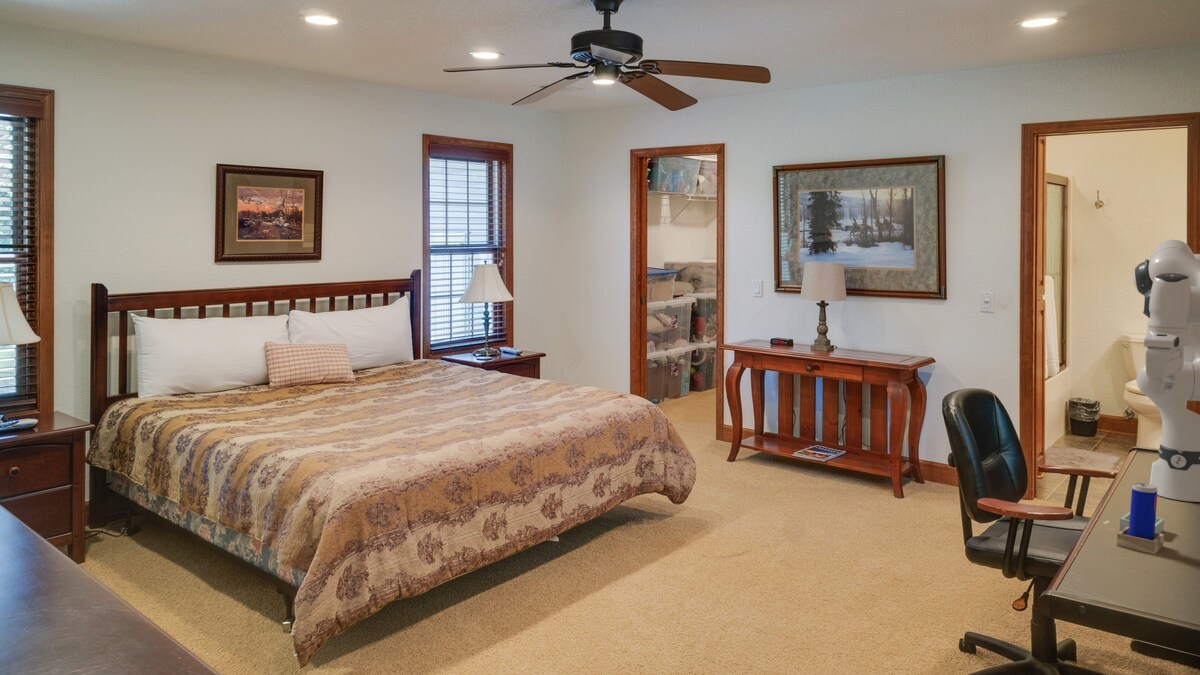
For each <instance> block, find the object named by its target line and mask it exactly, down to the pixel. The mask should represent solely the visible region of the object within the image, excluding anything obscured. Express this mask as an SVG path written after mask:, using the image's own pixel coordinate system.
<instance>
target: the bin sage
mask: <svg viewBox="0 0 1200 675" xmlns="http://www.w3.org/2000/svg"><path fill="white" fill-rule="evenodd" d="M1129 524H1130V511H1129V512H1127V513H1126V514H1124V515H1123V516H1122V517H1120V518H1119V529H1118V530H1119V531H1122V530H1123V529H1124V528H1126V527H1127V526H1129ZM1164 528H1165V519H1164V518H1160V517H1156V519H1155V532H1157V533H1161V534H1162V532H1164Z"/></svg>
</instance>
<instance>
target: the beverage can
mask: <svg viewBox="0 0 1200 675" xmlns="http://www.w3.org/2000/svg"><path fill="white" fill-rule="evenodd" d="M1157 492H1158V491H1157V487H1156V486H1154V485H1151V484H1149V483H1144V482H1136V483H1133V485H1132V487H1131V497H1130V498H1131V499H1130V510H1129V512H1130V524H1129V535H1130V536H1134V537H1139V538H1143V539H1148V540H1152V541H1153V540H1154V533H1155V519H1156V518H1157V503H1158V495H1157Z"/></svg>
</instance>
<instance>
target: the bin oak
mask: <svg viewBox="0 0 1200 675" xmlns="http://www.w3.org/2000/svg"><path fill="white" fill-rule="evenodd" d="M1116 536H1117V538H1116V546H1117V547H1121V548H1125V549H1131V550H1134V551H1139V552H1144V553H1148V554H1152V555H1155V554H1156V553H1158V551H1159V550H1161V548H1163V547H1164V542H1165V541H1164V540H1165V538H1164V537H1165V533H1162V532H1161V533H1157V532H1155V533H1154V540H1153V541H1152V540H1148V539H1143V538H1139V537H1134V536H1130V535H1129V526H1127V527H1126V528H1124V529H1123V530H1122V531H1121V530H1119V532H1117V535H1116Z"/></svg>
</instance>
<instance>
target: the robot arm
mask: <svg viewBox="0 0 1200 675" xmlns="http://www.w3.org/2000/svg"><path fill="white" fill-rule="evenodd" d="M1132 280H1133V283H1134V287H1135V289H1136V290H1137V292H1138V293H1139V294H1141V295H1142V296H1144V302H1143V303H1144V305H1143V306H1144V307H1143V312H1142V313H1143V315H1145V316H1146V317H1147V318H1148V319H1149V321H1148V323H1147V329H1146V331H1147V332H1146V335H1145V337H1144V338H1143V347H1144V348H1145V347H1146V348H1145V358H1144V359H1145V361H1144V362H1145V363H1144V364H1143V365H1142V366H1141V367H1140V368H1139V370H1138V372H1137V373H1136V379H1135V380H1136V381H1135V382H1136V385H1137V387H1138V390H1139V391H1140V392H1141V393H1142V394H1143V395H1144V396H1146V397H1147V398H1148V399H1149V400H1150V401H1152V403H1153V404H1154V405H1155V406H1156V408H1157V410H1158V412H1159V414H1160V418H1161V427H1162V428H1161V429H1162V430H1161V431H1162V432H1161V444H1160V445H1159V449H1158V457H1159V458H1158V459H1157V460H1155V461H1153V462H1152V465H1151V472H1150V480H1149V483H1148V484H1151V485H1154V486H1156V487H1157V491H1158V492H1157V496H1160V497H1163V498H1166V499H1172V500H1176V501H1177V500H1178V501H1182V502H1195V503H1197V502H1198V503H1200V414H1199V413H1197V412H1194V411H1193V410H1190V409H1188V408H1187V401H1188V402H1189V401H1195V402H1196V401H1197V402H1199V401H1200V253H1194V252H1193V250H1192V249H1191V247H1190V246H1189V244H1187V243H1186V242H1184V241H1183V240H1178V239H1167V240H1165V241H1163V242H1160V243H1159V244H1158V245H1157V246H1156V247H1155V248H1154V250H1153V251H1152V253H1151V255H1150V258H1149V259H1144V261H1143V262H1140V263H1139V264H1137V266H1136V267H1135V268H1134V272H1133V276H1132Z"/></svg>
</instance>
